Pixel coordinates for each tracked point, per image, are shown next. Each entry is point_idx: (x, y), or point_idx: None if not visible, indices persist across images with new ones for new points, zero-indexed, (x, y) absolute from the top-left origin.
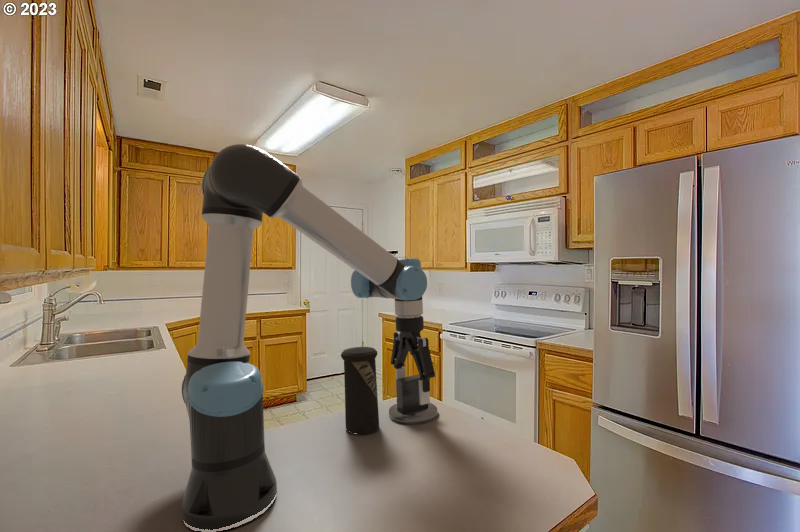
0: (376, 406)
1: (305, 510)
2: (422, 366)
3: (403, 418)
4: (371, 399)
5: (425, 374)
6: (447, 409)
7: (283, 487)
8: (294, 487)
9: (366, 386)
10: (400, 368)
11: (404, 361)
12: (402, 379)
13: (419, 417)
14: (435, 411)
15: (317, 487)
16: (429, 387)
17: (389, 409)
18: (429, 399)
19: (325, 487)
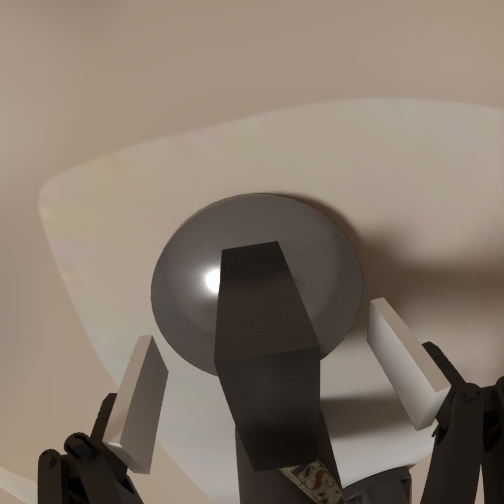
0: (328, 457)
1: (429, 447)
2: (484, 471)
3: (322, 358)
4: (340, 483)
5: (487, 430)
6: (282, 134)
7: (380, 469)
8: (389, 463)
9: None
10: (127, 459)
11: (119, 491)
12: (279, 458)
13: (349, 312)
14: (337, 232)
15: (408, 449)
16: (443, 356)
17: (217, 375)
18: (390, 308)
19: (414, 443)
